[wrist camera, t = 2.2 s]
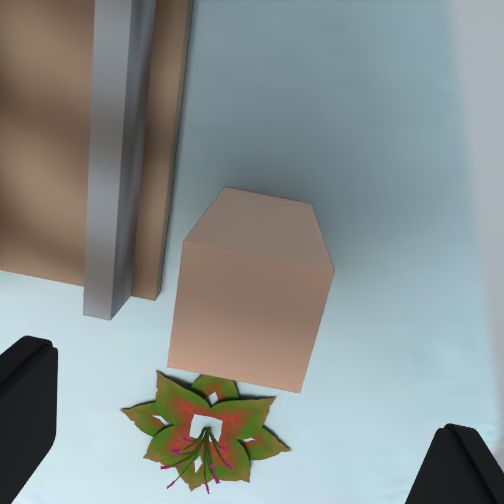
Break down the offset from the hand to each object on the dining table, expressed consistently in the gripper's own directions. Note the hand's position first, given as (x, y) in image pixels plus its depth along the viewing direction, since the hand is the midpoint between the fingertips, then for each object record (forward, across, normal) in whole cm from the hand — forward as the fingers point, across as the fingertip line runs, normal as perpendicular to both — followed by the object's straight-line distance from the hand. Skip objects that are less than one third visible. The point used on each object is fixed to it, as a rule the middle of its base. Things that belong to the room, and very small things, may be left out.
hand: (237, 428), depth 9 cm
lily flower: (+15, +2, +14) cm, 21 cm away
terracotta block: (+14, 0, -1) cm, 14 cm away
